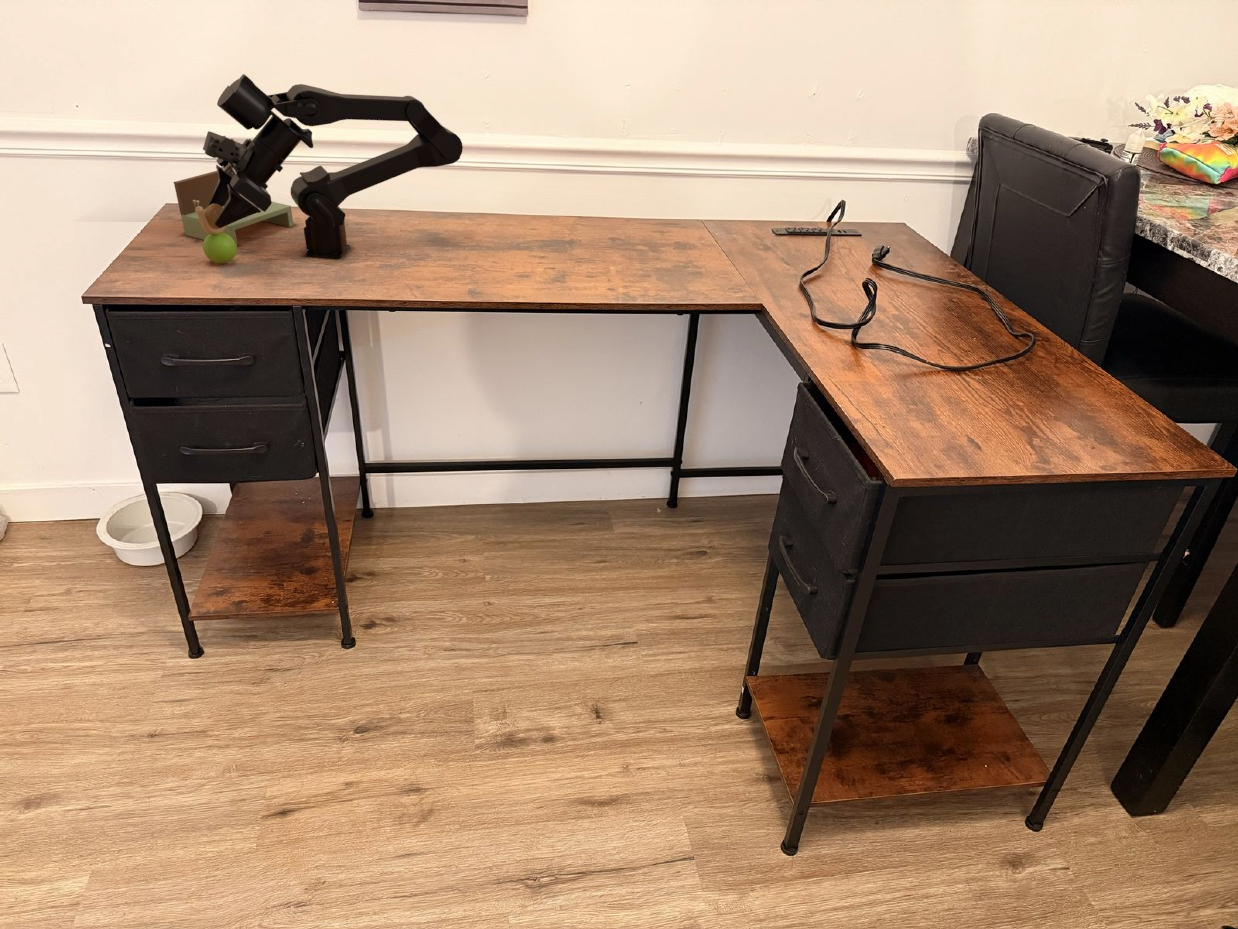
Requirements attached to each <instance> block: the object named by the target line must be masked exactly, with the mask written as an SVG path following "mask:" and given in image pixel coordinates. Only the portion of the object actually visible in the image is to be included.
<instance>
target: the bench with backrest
mask: <svg viewBox="0 0 1238 929" xmlns="http://www.w3.org/2000/svg"><path fill="white" fill-rule="evenodd" d="M218 179H219V177H218V173H217V170H214V171H211V172H207V173H203V174H198V175H195V176H192V177H187V178H183V179H180V180H176V181H173V185H174V189H175V194H176V199H177V204H178V208H179V213H180V217H181V218H180V219H181V222H182V227H183V231H184V235H185V236H188V237H191V238H195V239H199V240H203V241H204V240H205V238H206V237H207V236H208V235H209V234H208V233H207V232H205V230H204V229H203V227H202V226H201V224H200V221H199V218H198V215H197V213H196V211H195V209H196V208H195V206H196V207H197V206H201V207H203V209H204V212H205V210H206V208H207V206H208V204H209V201H210V199H211V197H212V194H213V192H214V190H215V187H216V185H217V182H218ZM193 200H196V201H197V200H198V201H199V204H197V203H195V204H194V203H193ZM271 202H272V204H271V205H270V206H269V208H268V209H267V210H266V211H265V212H264V211H262V210H261V209H260V210H261V212H260V213H255V214H253V215H250V216H247V217H245V218H242V219H240V220H238V221H236V222H233V223H231V224H229V225H227V226H226V227H225V230H224V231H223V232H222V233H225V234H227V235H229V236H230V237H231V238H232V239H233V240H234V242H235V244H236V247H238V246H239V245H238V244H239V243H238V240H237V234H236V230H239V229H241V228H245V227H247V226H251V225H254V224H256V223H260V222H268V223H272V224H275V225H280V226H284V227H288V228H291V227H293V226H294V225H295V224H294V218H293V211H292V206H291V205H290V204H285V203H280V202H277V201H272V200H271ZM223 207H224V206H223Z"/></svg>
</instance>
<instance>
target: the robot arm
mask: <svg viewBox="0 0 1238 929" xmlns="http://www.w3.org/2000/svg"><path fill="white" fill-rule="evenodd" d="M216 106H217V107H218V108H220V109H221V110H222V111H224V112H225V113H226V114H227V115H228V116H230V117H231V118H232V119H234V120H235V121H236V122H237V123H238V124H239V125H241V126H242V127H243V128H244V129H246V130H247V131H249V130H251V129H254V130H260V131H259V132H258V133H257V134H256V135H255V137H253V138H252V139H251V138H246V139H245V140H244V141H243V142H238V141H235V140H234V139H233V138H229V137H227V136H226V135H221V134H219V133H216V132H213V131H210V130H209V131H208V130H207V132H206V137H205V140H204V144H203V147H202V150H203V151H204V154H205V155H206V156H208V157H210V158H213V159H216V163H217V164H216V165H215V169H216V171H217V173H218V177H219V179H218V182H217V185H216V187H215V190H214V192H213V194H212V197H211V199H210V201H209V204H208V206H209V205H211V204H219V205H220V206H222V207H223V206H224V207H223V209H222V211H221V212H220V214H219V216H218V218H217V220H216V222H215V225H216V226H217V227H219V228H222V227H224V226H227V225H229V224H231V223H233V222H236V221H238V220H240V219H242V218H245V217H247V216H250V215H253V214H255V213H260V212H261V210H262V211H264V212H265V211H266V210H267V209H268V208H269V206H270V205H271V204H272V202H273V201H272V197H271V194H270V193H269V191H268V190H267V188H268V187H269V185H268V184H267V183H268V182H269V180H270V179H271V178H272V177H273V176H274V174H275V173H276V172H278V173H281V172H282V171H283V169H284V167H283V166H282V165H283V163H284V162H285V161H286V159H288V158H289V156H291V154H292V153H293V151H294V150H295V149H296V148H297V146H298V145H299V144H300V143H301V142H302V143H304V145H306V146H307V147H308V148H309V149H313V148H314V143H313V131H312V130H311V129H310V128H302V127H301V126H300V125H298V123H296V122H295V121H294V120H293V119H296V121H298V122H299V124H301V125H304V126H307V127H317V126H324V125H331V124H334V123H337V122H340V121H345V120H351V121H353V120H355V121H357V120H358V121H383V122H384V121H385V122H387V121H389V122H408V123H409V125H410V126H411V127H412V129H414V131H415V132H416V133H417V134H416V135H415V136H414V137H413V138H412V139H411V140H409V142H408V143H406V144H405V145H402V146H399V147H397V148H394V149H392V150H390V151H387V152H385V153H382V154H379V155H376V156H374V157H371V158H368V159H365V160H364V161H362V162H358V163H356V164H353V165H351V166H348V167H346V168H343V169H341V170H337V171H333V172H330V171H329V172H328V171H327V170H326V169H325V168H324V166H322V165H318V166H316V167H314V168H313V169H311V170H309V171H306V172H305V171H300V172H299V175H300V176H298V177H297V178H295V179H294V180H293V181H292V184H291V186H290V197H291V199H292V201H293V202H294V203H295V205H296V206H297V207H298V208H299V210H300V211H301V212H302V213H303V214H304V215H306V216H307V218H306V219H304V223H305V226H304V227H303V235H304V241H305V243H304V244H305V248H306V250H307V251H306V252H305V255H306V256H307V257H319V258H331V259H341V258H342V257H344V255H345V254H346V253H347V252H348V251H349V250H350V249H351V245H350V244H348V242H347V231H346V222H345V219H346V213H345V211H344V210H342V208H341V207H340V205H341V204H342V203H343V202H344V201H345V200H346V199H347V198H348V197H349V196H351V195H354V194H356V193H359V192H361V191H364V190H366V189H370V188H371V187H374V186H377V185H379V184H381V183H384V182H386V181H389V180H391V179H393V178H397V177H399V176H401V175H404V174H406V173H408V172H412V171H415V170H417V169H420V168H436V167H437V168H438V167H443V166H447V165H452V164H455V163H457V162H458V161H459V160H460V159H461V156H462V153H463V148H464V146H463V142H462V139H461V138H460V137H459V136H458V134H456V133H455V132H453V131H452V130H450V129H448V128H447V127H445V126H443V125H442V124H441V123H440V122H439V121H438V120H437V119H436V117H434V116H433V115H432V114H431V113H430V111H429V110H428V109H427V108H426V107H425V105H424V103H423V102H422V101H420V100H419V99H418V98H416V97H414V96H412V95H404V96H397V95H396V96H394V95H374V94H373V95H370V94H353V93H352V94H349V93H339V92H335V91H331V90H328V89H324V88H321V87H317V86H312V85H309V84H305V83H304V84H303V83H299V84H294V85H292V86H291V87H290V88H289V89H288V90H287V91H285V92H284V91H283V92H279V93H273V94H266V93H265V92H264V91H263V90H262V89H261V88H259V87H258V86H257V85H256V84H255V83H254V82H253V80H252V79H251V78H250V77H249V76H247V75H246V73H244V74H242V75H241V76H240V77H239V78H238V79H236V80H234V81H233V82H232V83H231V84H230V85H227V86H226V87H225V89H224V90H223V91H222V93H221V94H220V96H219V97H218V100H217V102H216ZM273 109H275V110H276V111H277V112H278V113H279V114H280V115H282V116H283V117H286V118H285V119H282V117H280V116H279V115H278V114H276V113H275V112H274V111H273ZM291 118H292V119H291ZM271 201H272V202H271ZM208 206H207V207H208ZM260 209H261V210H260Z"/></svg>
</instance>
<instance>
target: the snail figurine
mask: <svg viewBox="0 0 1238 929" xmlns="http://www.w3.org/2000/svg"><path fill="white" fill-rule="evenodd" d="M193 203H194V204H195V203H197V204H199V201H198V200H197V201H196V200H193ZM195 208H196V209H195V211H196V213H197V215H198V218H199V221H200V224H201V226H202V227H203V229H204V230H205V232H207V233H208V234H209V235H208V236H207V237H206V238H205V240H203V242H202V250H203V253H204V255H205V256H206V258H207V259H208V260H209V261H211V262H212V263H215V264H218V265H219V264H220V265H221V264H228V263H230V262H231V261H233V260H234V258H236V255H237V251H238V249H237V247H238V246H236V244H235V242H234V240H233V239H232V238H231V237H230V236H229V235H227V234H225V233H222V232H223V231H224V230H225V227H226V226H224V227H222V228H219V227H217V226H216V225H215V222H216V220H217V218H218V216H219V214H220V212H221V211H222V209H223V207H222V206H220V205H219V204H211V205H209V206H208V207H207V208H206V210H205V212H204V209H203V207H201V206H197V207H196V206H195Z"/></svg>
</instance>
